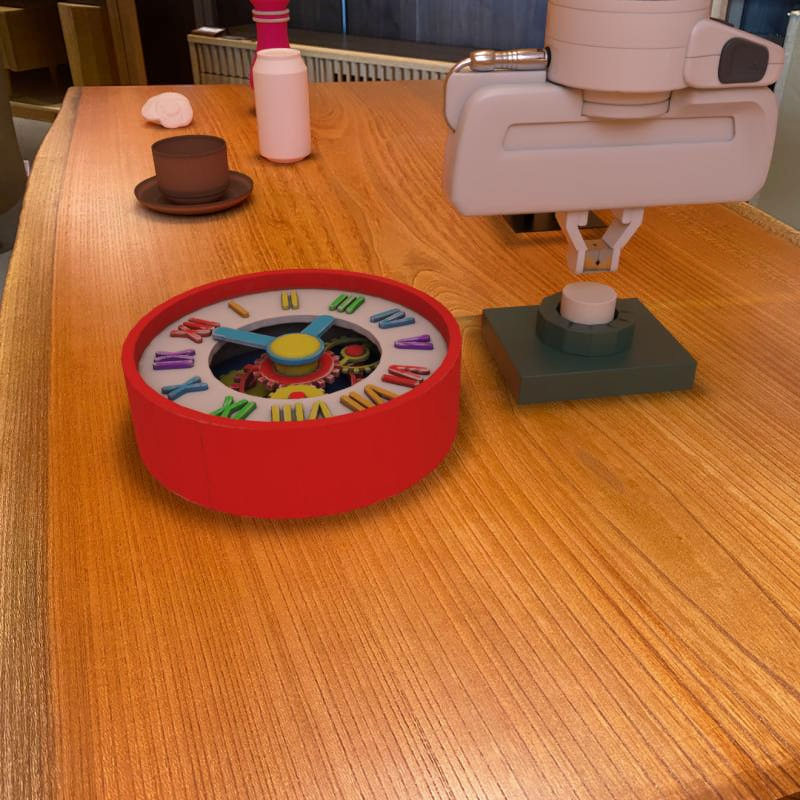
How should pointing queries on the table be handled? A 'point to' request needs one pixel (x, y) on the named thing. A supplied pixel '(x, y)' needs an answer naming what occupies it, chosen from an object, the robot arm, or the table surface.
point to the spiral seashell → (168, 110)
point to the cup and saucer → (192, 177)
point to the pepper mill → (270, 26)
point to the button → (588, 303)
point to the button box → (584, 353)
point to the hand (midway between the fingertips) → (591, 270)
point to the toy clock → (294, 391)
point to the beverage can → (282, 105)
